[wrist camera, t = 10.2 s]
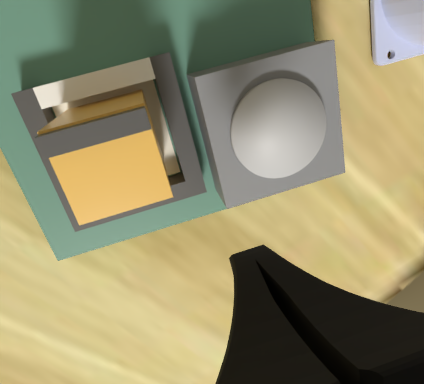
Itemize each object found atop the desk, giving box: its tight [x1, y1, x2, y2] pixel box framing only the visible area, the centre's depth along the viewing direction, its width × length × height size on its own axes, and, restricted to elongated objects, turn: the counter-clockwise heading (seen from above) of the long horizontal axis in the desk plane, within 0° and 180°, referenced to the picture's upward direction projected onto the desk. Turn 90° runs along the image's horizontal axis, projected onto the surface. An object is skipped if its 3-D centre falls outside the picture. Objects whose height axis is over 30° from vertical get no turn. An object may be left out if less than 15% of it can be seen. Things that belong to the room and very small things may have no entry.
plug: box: [34, 89, 173, 226], centre depth 16 cm, size 4×4×7 cm
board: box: [0, 0, 345, 261], centre depth 18 cm, size 18×16×4 cm
